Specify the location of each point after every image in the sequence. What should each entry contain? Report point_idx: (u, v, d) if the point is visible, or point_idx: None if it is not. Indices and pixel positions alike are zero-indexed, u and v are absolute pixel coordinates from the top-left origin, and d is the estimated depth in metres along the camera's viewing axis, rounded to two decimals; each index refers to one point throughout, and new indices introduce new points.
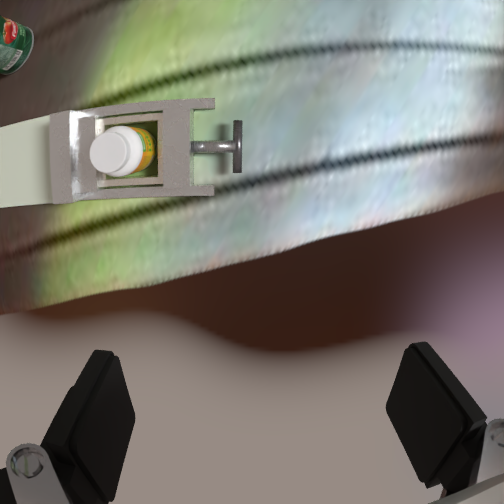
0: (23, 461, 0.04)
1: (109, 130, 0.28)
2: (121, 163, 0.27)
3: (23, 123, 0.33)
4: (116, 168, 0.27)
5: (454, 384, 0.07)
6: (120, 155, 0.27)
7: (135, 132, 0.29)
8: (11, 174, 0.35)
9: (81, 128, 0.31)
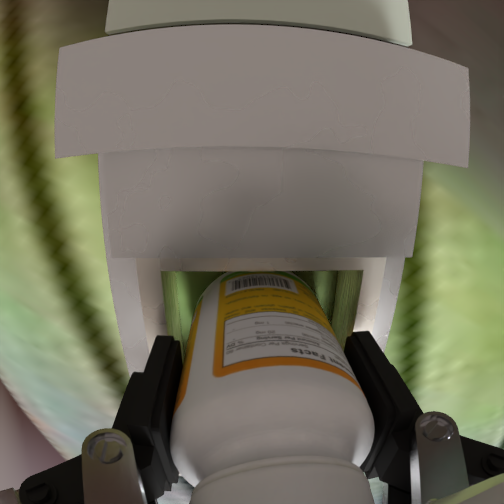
0: (100, 447, 0.05)
1: (368, 443, 0.06)
2: None
3: None
4: None
5: (388, 372, 0.08)
6: None
7: None
8: None
9: (382, 194, 0.08)
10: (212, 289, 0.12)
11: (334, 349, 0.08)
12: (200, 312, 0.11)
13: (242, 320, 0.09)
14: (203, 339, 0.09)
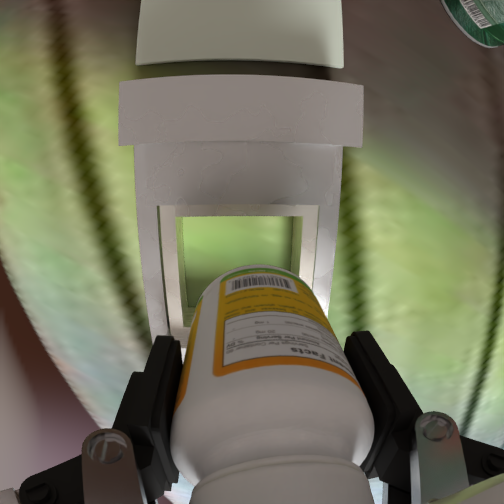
0: (100, 447, 0.05)
1: (368, 442, 0.06)
2: None
3: None
4: None
5: (388, 372, 0.08)
6: None
7: None
8: None
9: (308, 166, 0.15)
10: (212, 289, 0.12)
11: (334, 349, 0.08)
12: (200, 312, 0.11)
13: (242, 319, 0.09)
14: (203, 339, 0.09)
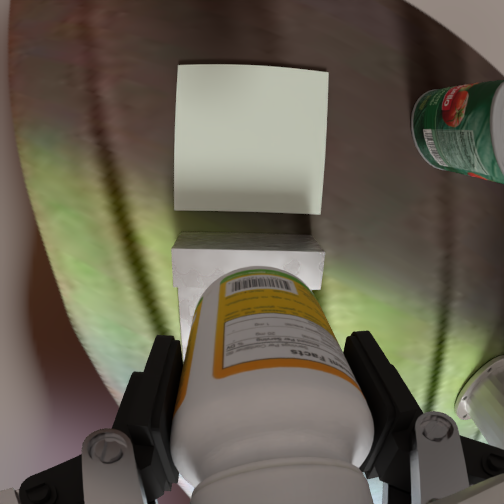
0: (100, 447, 0.05)
1: (367, 444, 0.06)
2: None
3: (321, 147, 0.24)
4: None
5: (388, 372, 0.08)
6: None
7: None
8: (235, 108, 0.23)
9: None
10: (212, 290, 0.12)
11: (334, 350, 0.08)
12: (200, 313, 0.11)
13: (242, 321, 0.09)
14: (203, 341, 0.09)
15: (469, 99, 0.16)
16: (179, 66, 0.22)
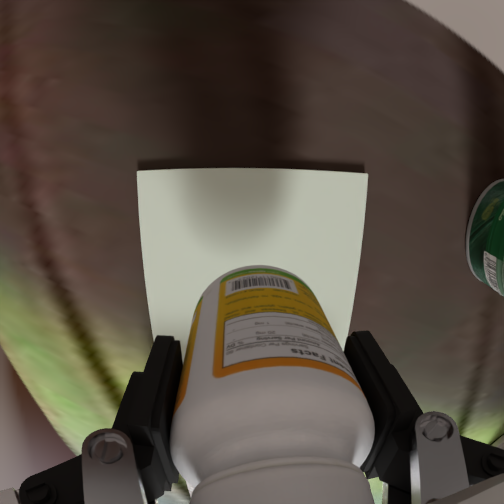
0: (100, 447, 0.05)
1: (368, 443, 0.06)
2: None
3: (351, 285, 0.18)
4: None
5: (388, 372, 0.08)
6: None
7: None
8: (228, 240, 0.17)
9: None
10: (212, 289, 0.12)
11: (334, 349, 0.08)
12: (200, 312, 0.11)
13: (241, 320, 0.09)
14: (203, 340, 0.09)
15: None
16: (139, 173, 0.15)
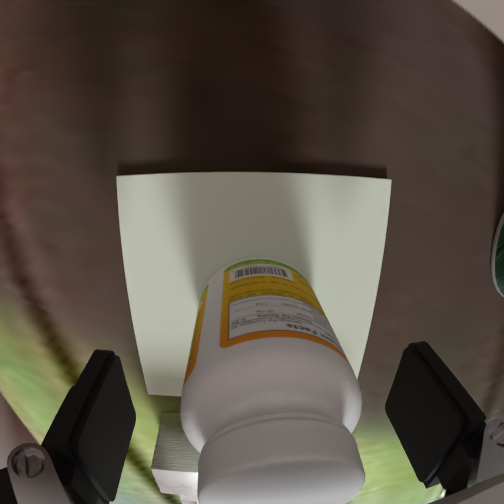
0: (24, 461, 0.04)
1: (356, 410, 0.08)
2: None
3: (368, 308, 0.15)
4: None
5: (453, 384, 0.07)
6: None
7: None
8: (226, 258, 0.14)
9: None
10: (217, 278, 0.13)
11: (325, 327, 0.09)
12: (206, 298, 0.12)
13: (244, 302, 0.10)
14: (210, 320, 0.10)
15: None
16: (118, 179, 0.13)
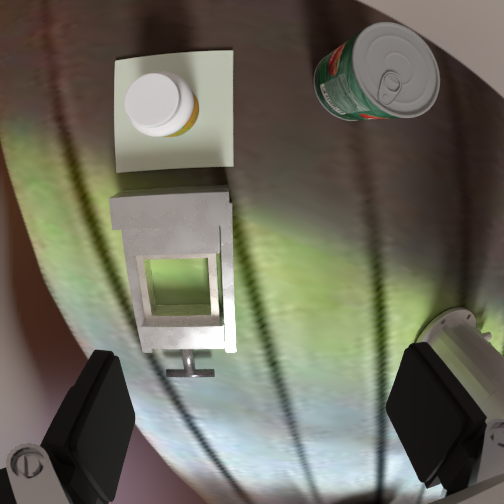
0: (23, 461, 0.04)
1: (186, 92, 0.21)
2: (135, 121, 0.20)
3: (229, 110, 0.29)
4: (129, 114, 0.20)
5: (454, 384, 0.07)
6: (145, 118, 0.20)
7: (182, 126, 0.23)
8: None
9: (204, 234, 0.30)
10: None
11: None
12: None
13: None
14: None
15: (343, 49, 0.21)
16: (116, 61, 0.26)
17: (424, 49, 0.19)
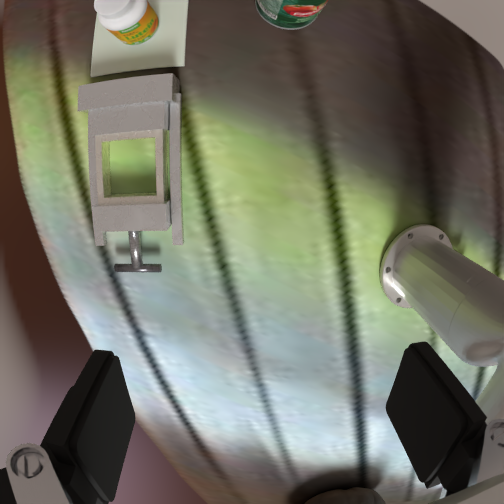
0: (23, 461, 0.04)
1: None
2: (99, 12, 0.21)
3: (183, 24, 0.30)
4: (96, 8, 0.21)
5: (454, 384, 0.07)
6: (106, 10, 0.21)
7: (136, 21, 0.24)
8: None
9: (152, 112, 0.31)
10: None
11: None
12: None
13: None
14: None
15: None
16: None
17: None
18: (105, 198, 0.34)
